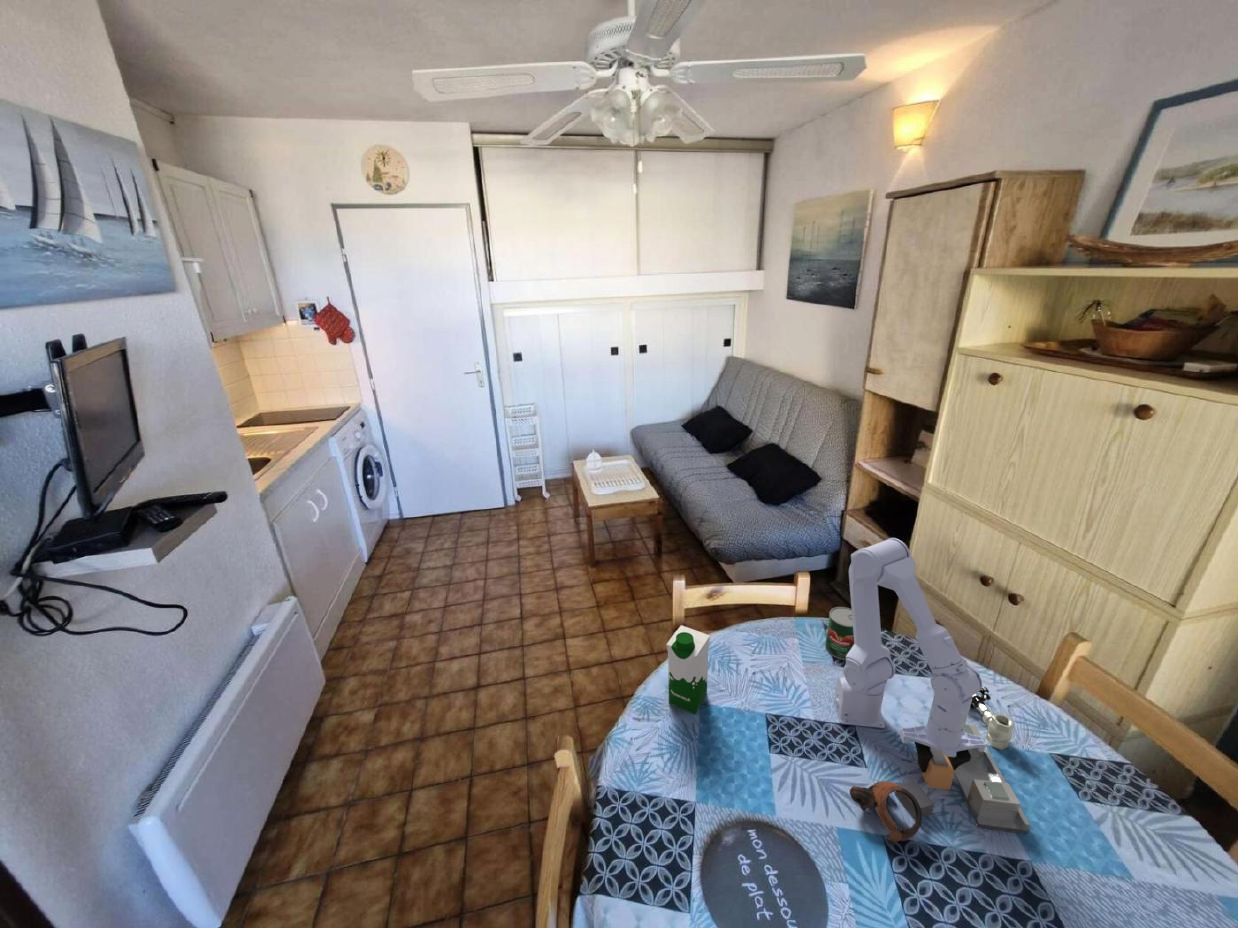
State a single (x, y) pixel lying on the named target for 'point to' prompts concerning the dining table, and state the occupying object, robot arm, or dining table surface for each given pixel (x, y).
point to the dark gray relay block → (920, 796)
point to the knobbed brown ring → (880, 794)
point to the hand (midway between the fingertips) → (933, 769)
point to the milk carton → (688, 668)
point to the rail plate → (965, 787)
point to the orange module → (938, 771)
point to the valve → (993, 722)
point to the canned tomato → (840, 632)
